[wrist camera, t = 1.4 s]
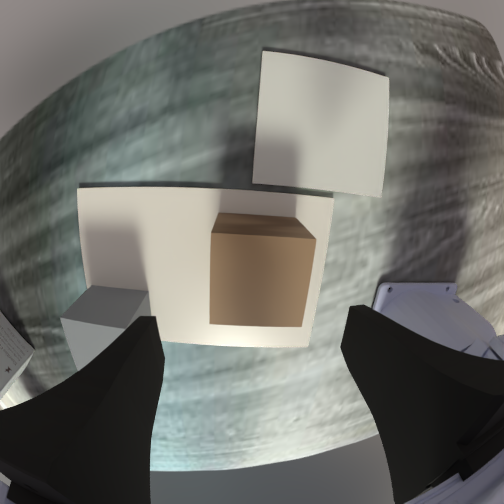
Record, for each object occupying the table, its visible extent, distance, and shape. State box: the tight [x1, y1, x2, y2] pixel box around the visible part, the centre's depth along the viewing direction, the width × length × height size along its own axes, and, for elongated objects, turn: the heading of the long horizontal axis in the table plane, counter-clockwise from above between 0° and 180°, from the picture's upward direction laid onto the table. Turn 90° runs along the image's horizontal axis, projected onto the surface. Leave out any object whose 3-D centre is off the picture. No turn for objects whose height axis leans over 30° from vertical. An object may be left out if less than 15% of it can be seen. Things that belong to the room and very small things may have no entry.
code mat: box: [77, 187, 334, 347], centre depth 19 cm, size 18×12×1 cm, turn 86°
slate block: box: [60, 285, 151, 371], centre depth 17 cm, size 5×5×5 cm
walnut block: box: [209, 213, 317, 327], centre depth 16 cm, size 5×5×5 cm
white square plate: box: [252, 51, 389, 198], centre depth 16 cm, size 9×9×1 cm
